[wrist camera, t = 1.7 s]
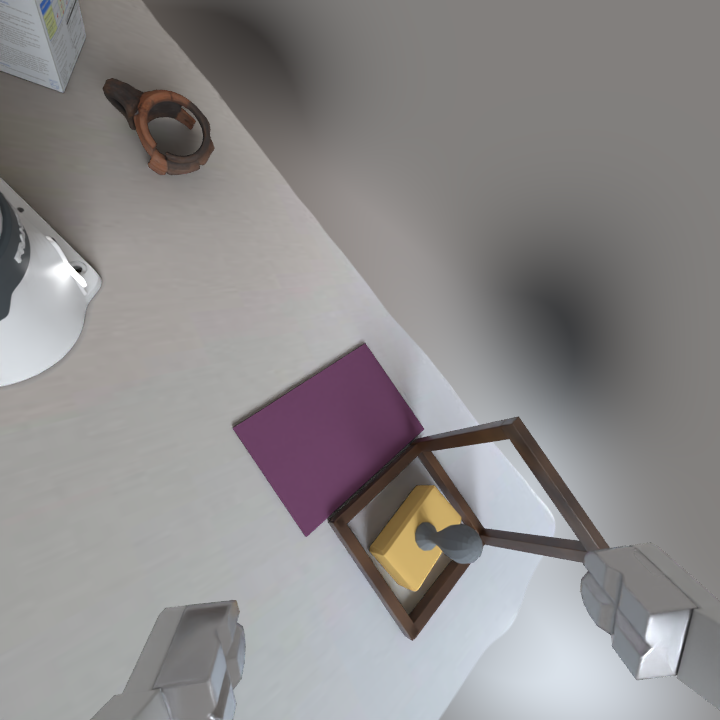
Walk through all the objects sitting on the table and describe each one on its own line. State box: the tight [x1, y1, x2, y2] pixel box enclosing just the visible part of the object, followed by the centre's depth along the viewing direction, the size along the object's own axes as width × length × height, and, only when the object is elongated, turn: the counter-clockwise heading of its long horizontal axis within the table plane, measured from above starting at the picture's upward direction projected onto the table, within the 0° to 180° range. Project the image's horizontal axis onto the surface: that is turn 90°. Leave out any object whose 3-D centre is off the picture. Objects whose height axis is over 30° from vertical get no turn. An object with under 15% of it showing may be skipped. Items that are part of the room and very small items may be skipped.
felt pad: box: [233, 344, 424, 537], centre depth 44 cm, size 14×20×1 cm
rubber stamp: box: [369, 485, 483, 591], centre depth 39 cm, size 10×6×12 cm, turn 135°
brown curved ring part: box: [103, 78, 215, 175], centre depth 44 cm, size 12×10×8 cm
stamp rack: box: [328, 417, 609, 641], centre depth 37 cm, size 16×15×18 cm
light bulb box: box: [0, 0, 86, 93], centre depth 39 cm, size 11×7×11 cm, turn 0°
